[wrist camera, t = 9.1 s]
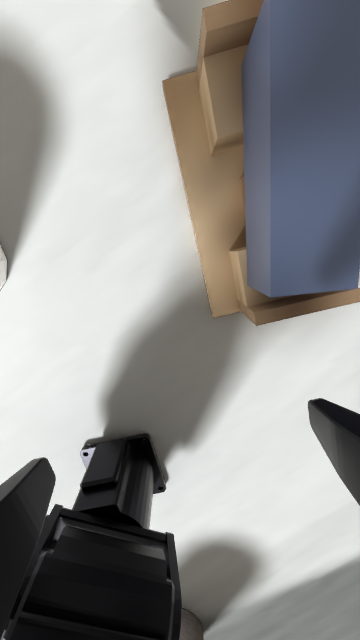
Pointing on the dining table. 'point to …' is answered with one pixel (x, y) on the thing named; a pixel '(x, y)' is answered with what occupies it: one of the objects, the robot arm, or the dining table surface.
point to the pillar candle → (190, 626)
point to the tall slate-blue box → (302, 147)
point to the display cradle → (225, 168)
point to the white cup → (2, 267)
